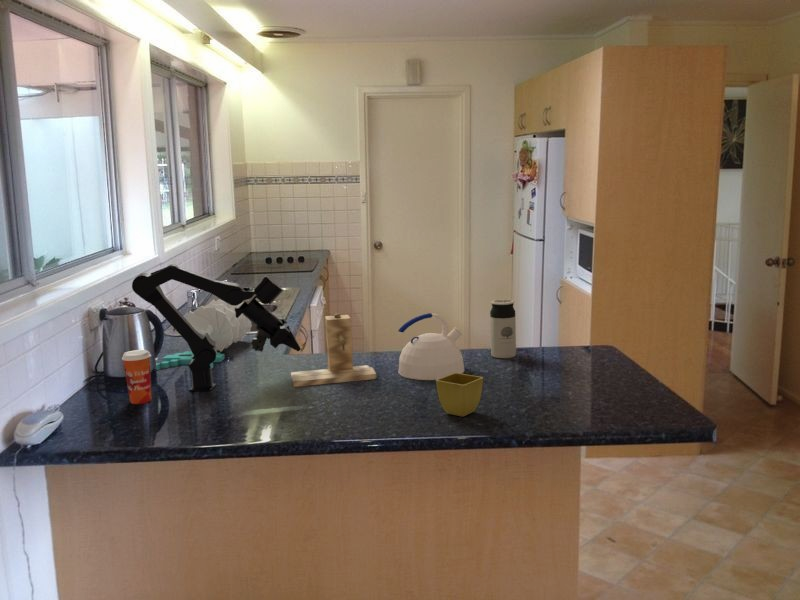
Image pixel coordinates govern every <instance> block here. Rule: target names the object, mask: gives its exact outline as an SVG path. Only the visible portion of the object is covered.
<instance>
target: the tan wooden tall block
mask: <svg viewBox="0 0 800 600" xmlns="http://www.w3.org/2000/svg"><path fill="white" fill-rule="evenodd" d="M324 322H325V323H324V325H325V341H326V354H327V356H326V357H327V369H328V371H338V370H348V369H353V367H354V360H353V359H354V358H353V343H352V342H353V340H352V324H351V317H350V315H349V314H341V313H334V315H326V316H324Z"/></svg>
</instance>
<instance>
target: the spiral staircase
mask: <svg viewBox="0 0 800 600" xmlns="http://www.w3.org/2000/svg"><path fill="white" fill-rule="evenodd" d="M243 303H244V301H243V302H242V303H241V304H239V305H236V306H233V305H230V304H228V303H226V302H224V301H223V300H221V299H219V298H217V300H215V299H212V300H211V301H210V302H209V303H207V304H206V305H205V306H204V305H200V306H198V307H197V308H196V309H195V310H194V311H191V310H190V311H189V312H188V314H187V317H186V318H185V319H186V320H187V321H188V322H189V323H190V324H191V325H192V327H193V328H194V329H195V330H196V331H197V332H198V333H200V334H202V335H203V336H204V335H205V333H208V335H209V336H210V338H211V339H212V340H213V341H215V342H216V344H215V345H216V347H217V351H218V352H220V353H222V352H223V351H224V350H227V349H228V348H229V347H230V346H231V345H232V344H233V343H238V341H239V340H242V339H244V337H245V336H246V334H247V333H251V328H252V326H253V325H252V324H253V323H252V322H251V321H250V320H249V319H248V318H247V317H246V316H244V315H243V314H241V315H240V316H239V317H238V318H236V312H235V307H236V308H238V307H240V306H241V305H242V304H243Z"/></svg>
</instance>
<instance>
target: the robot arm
mask: <svg viewBox="0 0 800 600" xmlns="http://www.w3.org/2000/svg"><path fill="white" fill-rule="evenodd" d="M171 280H173V281H176V282H178V283H182V284H185V285H187V286H190V287H193V288H196V289H199V290H201V291H204V292H207V293H210V294H212V295H213V296H215V297H217V299H221V300H223V301H224V302H226V303H228V304H230V305H233V306H236V305H239V304H241V303H242V302H243V304H242V305H241V306H240V307H238V308H236V307H235V312H236V318H238V317H239V316H240V315H241V314H243V315H244V316H246V317H247V318H248V319H249V320H250V321H251V323H252V324H254V325H255V328H256V330H257V332H256V334H255V336H254V337H253V338H252V340H251V342H250V344H251V349H252V350H254V351H256V352H257V351H258V352H260V353H261V352H263V351H264V346H265V344H266V342H267V340H269V344H270V346H272V347H273V348H274V349H277V348H278V347H279V346H280V345H284V346H286V347H288V348H291V349H293V350H294V351H297V352H299V351H301V347H300V344H299V342H298V341H297V339H296V337H295V335H294V333H293V331H292V329H291V327H290V326H289V325H287V326H285V325H284V324H287V323H288V320H286V319H285V318H284V317H282V316H280V317H279V316H278V317H277V316H275V314H273V313H272V311H271V310H270V309H267V308H266V307H265V306H264V305H268V304H269V305H272V304H273V303H274V302H275V300H276V299H277V298H278V297H279V296H280V295H281V294H282V293H283V292H284V289H283V288H282V287H281V286H280V285H279V284H278V283H276V282H275V281H273V279H271V278H269V277H268V276H267V275H265V276H264V277H263V278H262V279H261V280H260V282H259V283H258V284H257V285H256V286H255V287H244V286H243V285H242V284H240V283H237V282H232V281H231V282H230V281H224V280H223V281H222V280H218V279H213V278H210V277H208V276H205V275H203V274H199V273H197V272H194V271H191V270H189V269H186V268H184V267H180V266H178V265H177V264H169V265H167V266H166V267H163V268H161V269H158V270H155V271H153V272H151V273H149V272H143V273H140V274H138V275H137V276H135V278H134V279H132V283H131V289H132V290H133V292H134V294H136V295H137V296H138V297H140V298H141V299H142V300H144V301H146V302H147V303H149V304H150V305H152V306H154V308H155V309H156V310H157V311H158V312H159V313H160V315H161V316H163V318H164V319H165V320H166V321H167V322H168V323H169V324H170V325H171V326H172V327H173V329H175V331H176V332H177V333H178V334H179V335H180V336H181V338H182V339H183V340H184V341H185V342H186V343H187V345H188V347H189V349H190V351H192V353H193V355H194V356H193V357H192V358H191V361H190V364H188V367H189V369H190V373H191V385H192V386H191V387H190V388H188V392H205V391H206V392H210V391H211V390H213V388H215V386H217V383H216V382H213V377H212V376H213V375H212V369H211V366H210V364H211V363H213V364H214V363H215V362H214V361H215V359H216V355H217V352H218V350H217V347H216V345H215V344H216V342H215V341H213V340H212V339H211V338H210V336H209V335H208V333H205V335H204V336H203V335H202V334H200V333H198V332H197V331H196V330H195V329H194V328H193V327H192V325H191V324H190V323H189V322H188V321H187V320H186V319H187V318H186V317H184V315H183V314H182V313H181V312H180V311H179V310H178V309H177V308H176V307H175V306H174V304H172V302H171V301H170V300H169V299H168V297H166V295H165V293H164V291H163V290H162V288H161V285H163V284H165V283H167V282H170V281H171ZM247 300H248V301H247ZM259 301H260V302H261V303H260V302H259Z"/></svg>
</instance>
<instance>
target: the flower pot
mask: <svg viewBox="0 0 800 600" xmlns="http://www.w3.org/2000/svg"><path fill="white" fill-rule="evenodd" d="M483 381H484V377H483V376H479V375H478V376H477V375H473V374H472V375H471V374H465V373H462V374H461V373H453V374H450V375H447V376H445V377H442V378H440V379H437V380H435V386H436V390H437V395H438V400H439V403H440V405H441V406H442V408H443V410H444V411H445V413H446V414H447V415H453V416H459V417H465V416H467V415H470V414H472V413H474V412H475V411H476V409H477V407H478V405H479V403H480V401H481V397H482V393H483V392H482V391H483V384H484V382H483Z"/></svg>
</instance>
